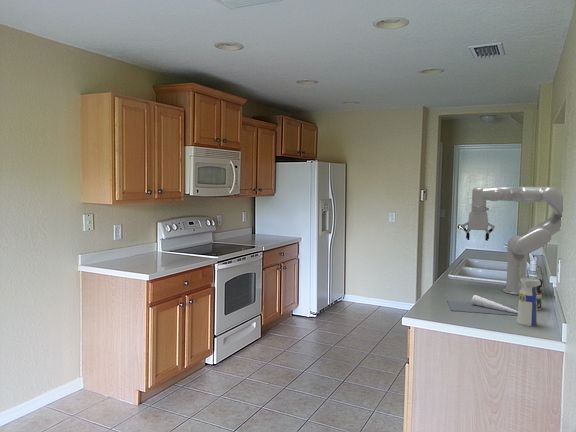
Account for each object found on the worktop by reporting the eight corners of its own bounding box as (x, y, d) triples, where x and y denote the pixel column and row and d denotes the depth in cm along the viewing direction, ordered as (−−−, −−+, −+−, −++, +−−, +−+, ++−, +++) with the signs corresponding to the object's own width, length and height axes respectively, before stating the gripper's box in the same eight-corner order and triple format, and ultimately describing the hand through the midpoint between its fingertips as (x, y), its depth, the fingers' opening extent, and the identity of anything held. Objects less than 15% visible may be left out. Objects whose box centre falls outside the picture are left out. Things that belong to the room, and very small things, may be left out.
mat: (511, 305, 227) (511, 305, 227) (520, 316, 210) (520, 315, 210) (447, 301, 234) (447, 300, 234) (451, 310, 217) (451, 310, 217)
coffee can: (539, 306, 227) (541, 278, 226) (542, 311, 218) (544, 282, 217) (516, 303, 231) (518, 276, 230) (518, 309, 222) (520, 280, 221)
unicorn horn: (518, 316, 208) (519, 305, 208) (470, 305, 227) (470, 295, 226) (523, 314, 211) (524, 304, 211) (475, 303, 230) (475, 294, 229)
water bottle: (528, 327, 194) (531, 268, 192) (511, 321, 202) (514, 265, 200) (542, 325, 197) (545, 267, 195) (525, 319, 205) (528, 263, 203)
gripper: (494, 209, 258) (492, 240, 260) (461, 209, 262) (460, 238, 264) (496, 210, 251) (495, 241, 252) (463, 209, 255) (461, 240, 256)
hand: (477, 240), depth 258 cm, fingers open, 9 cm apart
